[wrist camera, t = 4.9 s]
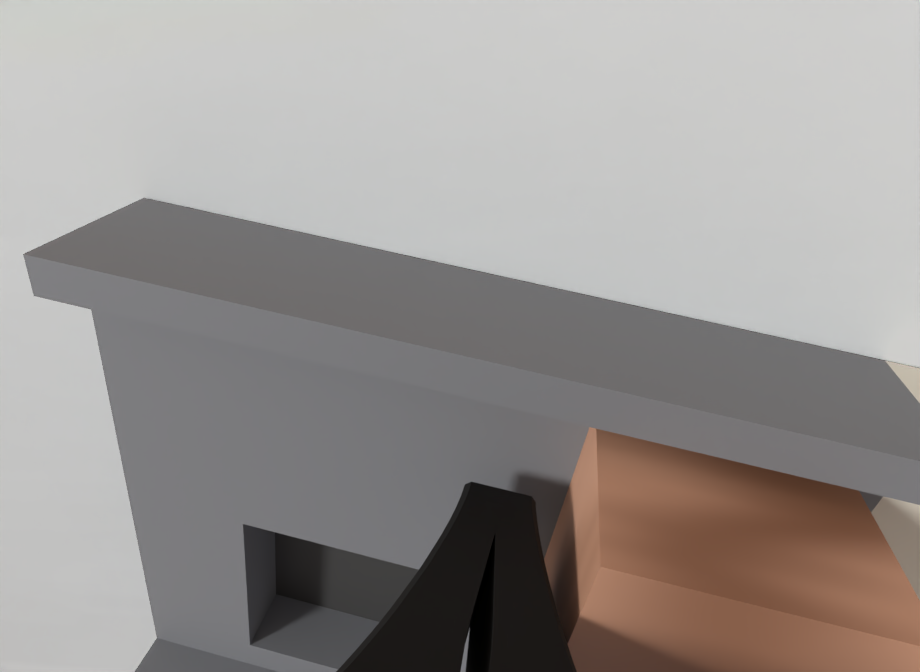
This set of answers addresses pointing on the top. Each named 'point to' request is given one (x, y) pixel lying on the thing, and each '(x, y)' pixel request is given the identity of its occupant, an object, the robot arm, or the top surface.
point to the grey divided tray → (407, 417)
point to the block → (722, 568)
